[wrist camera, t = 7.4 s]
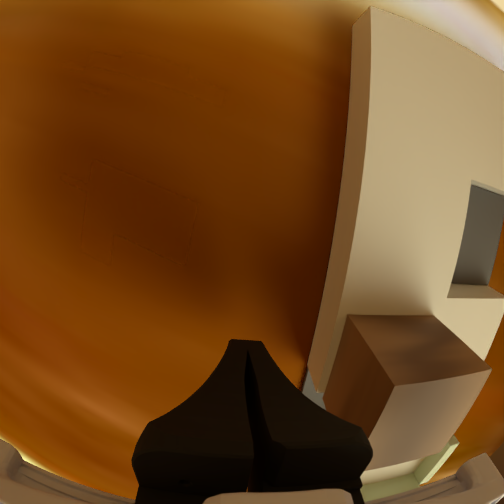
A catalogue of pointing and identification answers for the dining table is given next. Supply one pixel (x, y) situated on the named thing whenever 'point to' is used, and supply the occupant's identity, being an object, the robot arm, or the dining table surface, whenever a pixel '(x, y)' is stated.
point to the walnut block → (403, 384)
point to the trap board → (414, 203)
